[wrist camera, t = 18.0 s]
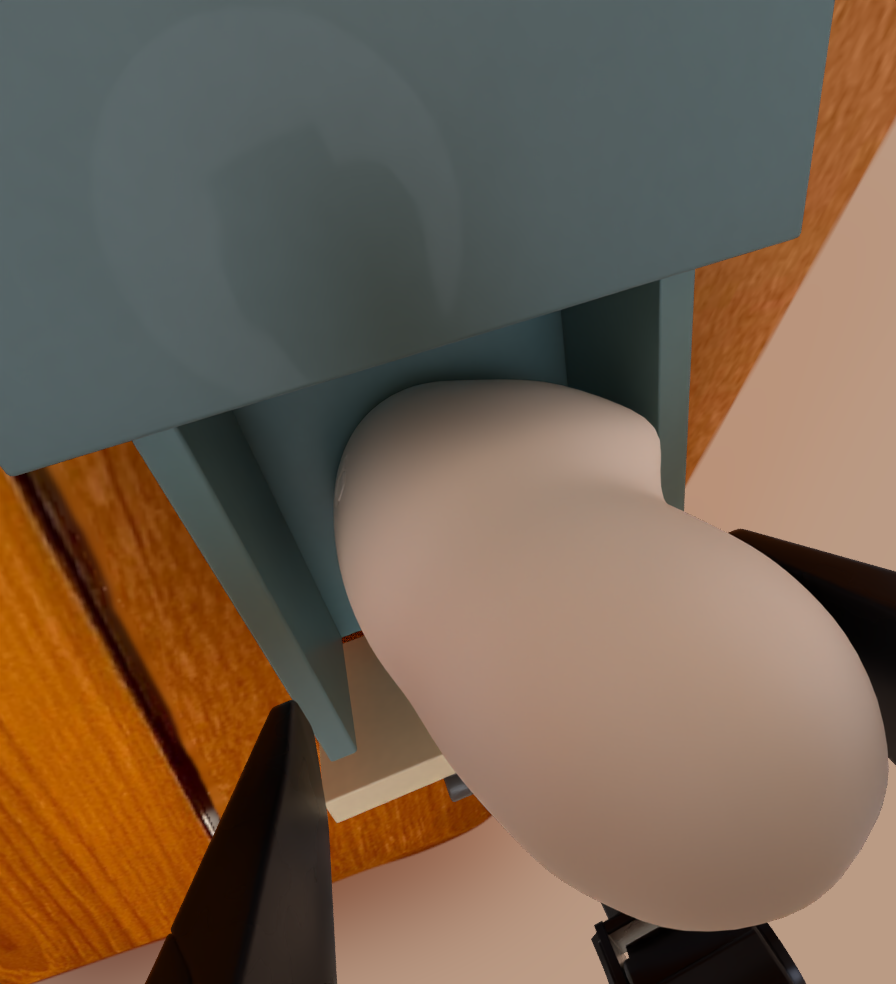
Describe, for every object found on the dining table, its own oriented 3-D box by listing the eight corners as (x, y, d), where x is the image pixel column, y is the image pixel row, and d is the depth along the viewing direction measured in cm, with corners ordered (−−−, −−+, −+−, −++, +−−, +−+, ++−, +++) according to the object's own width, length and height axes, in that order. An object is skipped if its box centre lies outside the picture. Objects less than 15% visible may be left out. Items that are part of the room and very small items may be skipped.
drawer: (609, 640, 24) (692, 749, 19) (359, 740, 22) (381, 887, 18) (578, 129, 13) (748, 84, 8) (94, 253, 12) (-38, 285, 7)
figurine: (555, 538, 18) (883, 934, 8) (347, 586, 17) (444, 1145, 7) (566, 341, 15) (1162, 620, 5) (303, 378, 13) (370, 913, 3)
